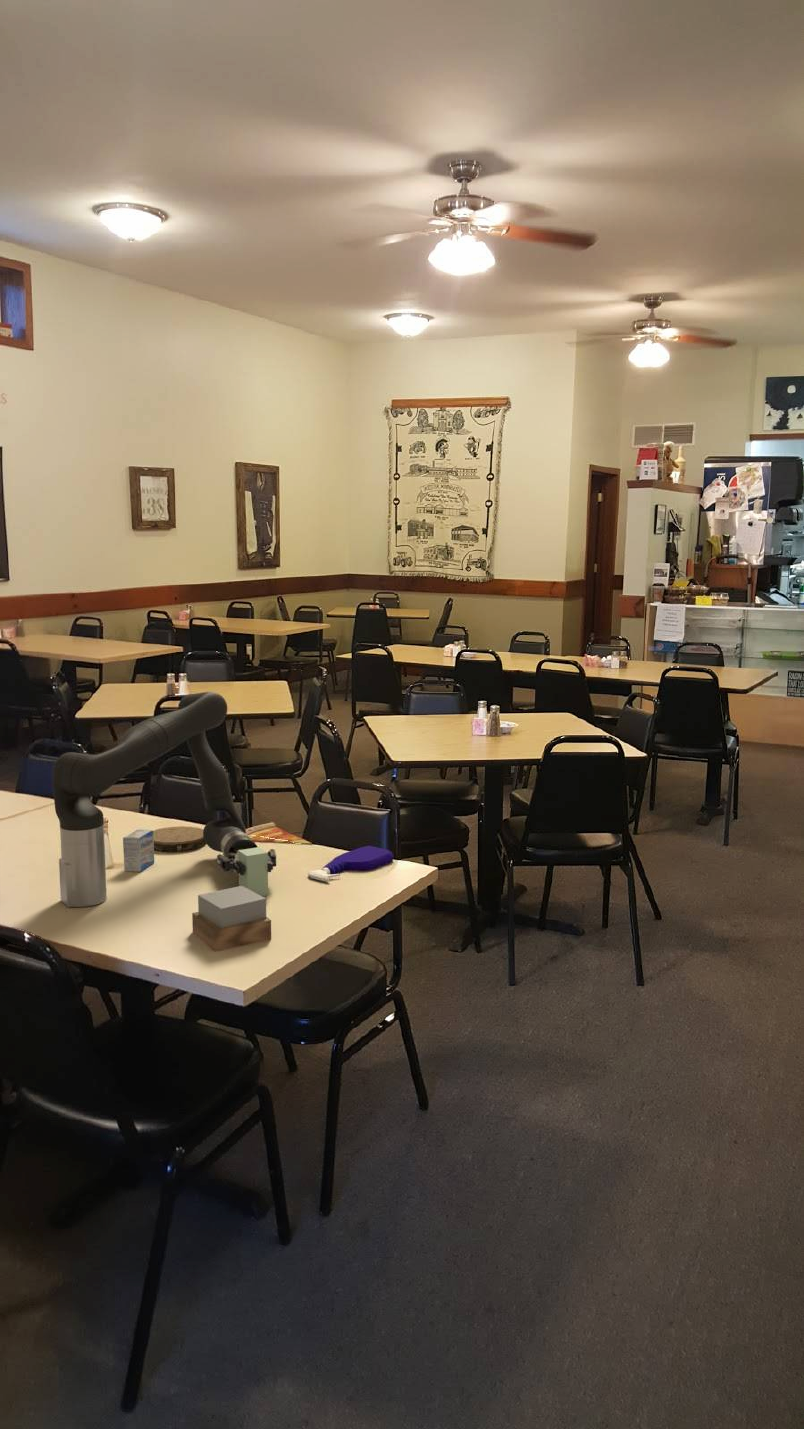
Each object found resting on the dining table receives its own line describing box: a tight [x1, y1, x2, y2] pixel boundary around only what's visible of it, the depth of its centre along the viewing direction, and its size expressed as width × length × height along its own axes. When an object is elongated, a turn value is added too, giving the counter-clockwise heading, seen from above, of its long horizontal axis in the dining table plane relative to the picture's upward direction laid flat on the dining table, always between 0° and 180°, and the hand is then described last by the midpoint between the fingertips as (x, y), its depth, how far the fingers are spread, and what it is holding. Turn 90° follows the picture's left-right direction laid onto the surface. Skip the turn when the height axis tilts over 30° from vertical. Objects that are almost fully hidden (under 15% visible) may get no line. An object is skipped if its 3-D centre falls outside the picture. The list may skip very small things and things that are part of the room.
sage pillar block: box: [238, 846, 269, 897], centre depth 229 cm, size 5×5×10 cm
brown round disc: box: [153, 826, 207, 854], centre depth 269 cm, size 16×16×3 cm
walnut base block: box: [191, 911, 272, 952], centre depth 204 cm, size 12×12×4 cm
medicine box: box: [122, 828, 155, 873], centre depth 248 cm, size 8×4×9 cm, turn 168°
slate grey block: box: [197, 885, 267, 928], centre depth 204 cm, size 10×10×4 cm
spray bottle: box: [307, 845, 394, 883], centre depth 249 cm, size 3×11×24 cm
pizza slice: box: [245, 821, 313, 846], centre depth 274 cm, size 16×22×2 cm
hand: (256, 869), depth 226 cm, fingers closed on sage pillar block, 5 cm apart
